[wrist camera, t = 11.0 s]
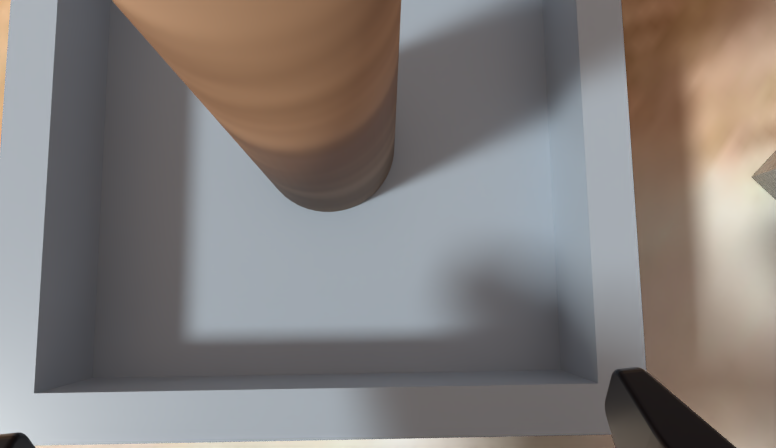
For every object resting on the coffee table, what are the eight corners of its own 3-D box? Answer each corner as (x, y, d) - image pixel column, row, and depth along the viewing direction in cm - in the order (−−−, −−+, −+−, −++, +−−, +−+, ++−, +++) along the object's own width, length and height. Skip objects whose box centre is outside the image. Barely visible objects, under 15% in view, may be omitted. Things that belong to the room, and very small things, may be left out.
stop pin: (420, 163, 18) (525, -306, 4) (310, 238, 18) (53, -17, 4) (345, 60, 19) (231, -654, 5) (237, 131, 18) (-216, -423, 5)
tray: (592, 405, 18) (650, 433, 15) (66, 415, 18) (-21, 446, 14) (564, -77, 21) (609, -168, 17) (92, -77, 20) (22, -169, 16)
